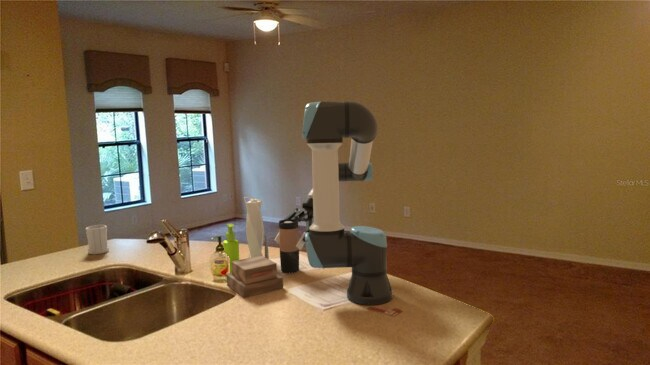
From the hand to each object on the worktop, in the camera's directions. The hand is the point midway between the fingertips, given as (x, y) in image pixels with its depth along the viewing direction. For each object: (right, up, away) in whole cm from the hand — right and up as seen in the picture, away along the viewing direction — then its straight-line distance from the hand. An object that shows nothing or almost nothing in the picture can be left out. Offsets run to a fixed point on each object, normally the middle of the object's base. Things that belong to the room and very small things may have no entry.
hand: (286, 245), depth 183 cm
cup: (-92, -8, +35) cm, 98 cm away
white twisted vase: (-14, -9, +16) cm, 23 cm away
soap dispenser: (-21, -11, -1) cm, 24 cm away
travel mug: (+1, -11, +2) cm, 11 cm away
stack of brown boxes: (-10, -13, -15) cm, 22 cm away
